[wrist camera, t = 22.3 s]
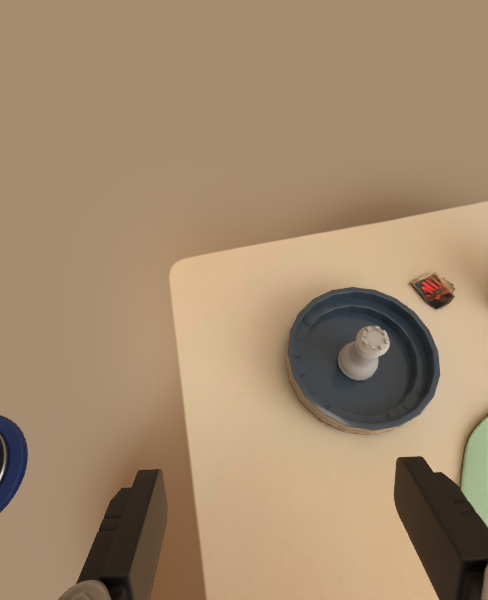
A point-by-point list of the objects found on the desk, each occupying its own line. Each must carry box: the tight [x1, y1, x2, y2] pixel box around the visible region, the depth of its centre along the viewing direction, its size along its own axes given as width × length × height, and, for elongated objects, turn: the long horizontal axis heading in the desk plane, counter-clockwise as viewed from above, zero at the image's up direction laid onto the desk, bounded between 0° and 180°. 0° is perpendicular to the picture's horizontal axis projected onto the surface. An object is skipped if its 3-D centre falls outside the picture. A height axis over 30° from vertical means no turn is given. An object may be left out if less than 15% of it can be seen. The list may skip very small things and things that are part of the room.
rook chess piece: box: [338, 326, 390, 380], centre depth 39 cm, size 4×4×8 cm
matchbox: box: [411, 272, 455, 309], centre depth 48 cm, size 5×5×1 cm
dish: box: [286, 287, 440, 435], centre depth 42 cm, size 16×16×4 cm
